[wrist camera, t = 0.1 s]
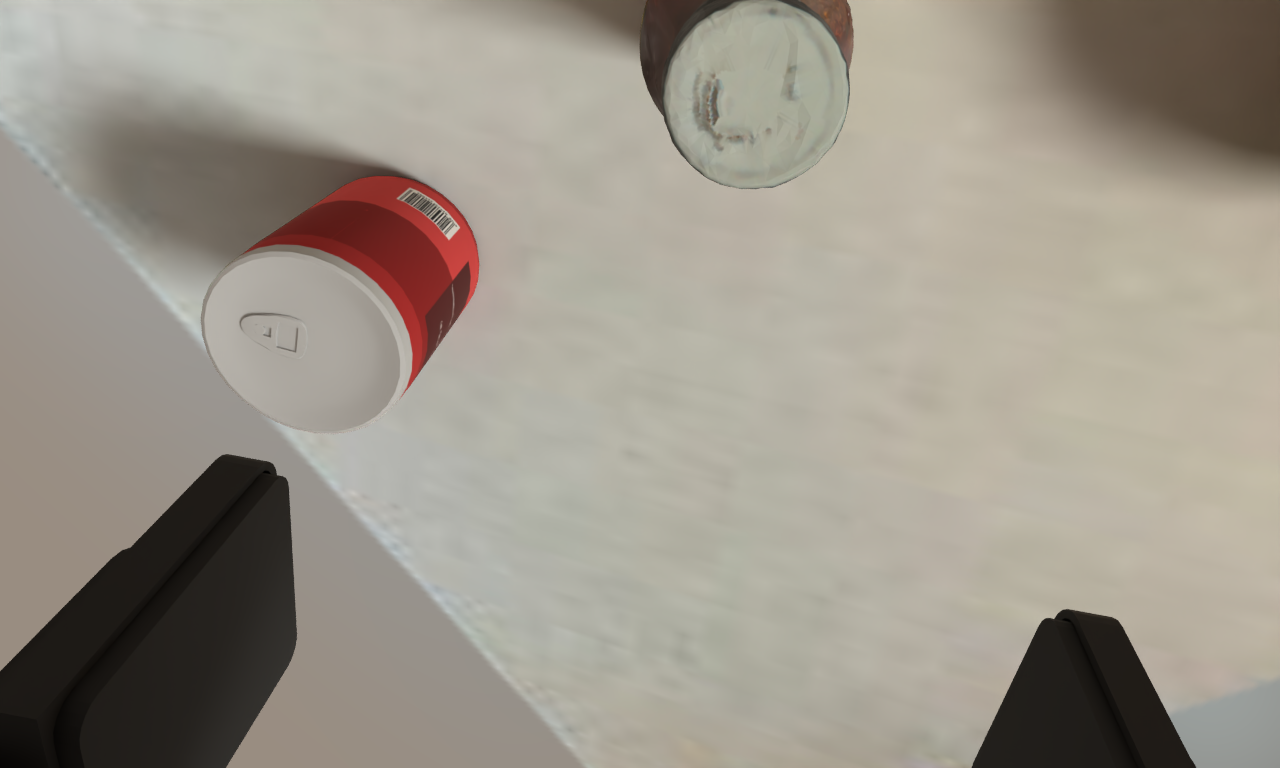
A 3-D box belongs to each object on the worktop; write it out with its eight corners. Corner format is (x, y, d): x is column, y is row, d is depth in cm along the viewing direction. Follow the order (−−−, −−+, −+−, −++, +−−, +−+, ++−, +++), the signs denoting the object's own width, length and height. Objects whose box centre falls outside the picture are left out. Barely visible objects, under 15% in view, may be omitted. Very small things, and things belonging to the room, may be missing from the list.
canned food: (309, 168, 42) (175, 246, 32) (477, 172, 41) (391, 253, 31) (336, 319, 45) (223, 431, 36) (491, 325, 44) (418, 441, 35)
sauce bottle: (635, 37, 37) (533, 149, 20) (707, -117, 35) (662, -142, 17) (772, 112, 38) (789, 283, 21) (853, -32, 35) (952, 27, 18)
